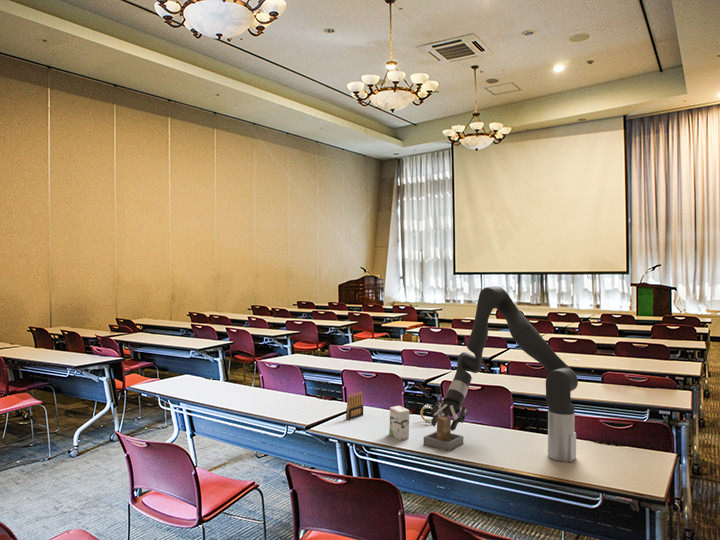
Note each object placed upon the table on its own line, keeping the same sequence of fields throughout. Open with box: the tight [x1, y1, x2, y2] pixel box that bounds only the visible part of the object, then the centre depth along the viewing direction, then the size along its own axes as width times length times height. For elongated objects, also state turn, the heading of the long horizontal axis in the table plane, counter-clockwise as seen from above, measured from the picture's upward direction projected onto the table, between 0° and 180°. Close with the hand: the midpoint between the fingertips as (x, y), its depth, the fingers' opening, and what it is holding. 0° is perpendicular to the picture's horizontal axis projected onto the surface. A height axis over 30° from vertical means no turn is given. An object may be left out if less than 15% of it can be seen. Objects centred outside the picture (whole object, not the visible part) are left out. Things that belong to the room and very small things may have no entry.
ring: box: [419, 403, 433, 423], centre depth 232 cm, size 7×3×8 cm, turn 61°
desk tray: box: [423, 430, 464, 452], centre depth 202 cm, size 12×12×3 cm
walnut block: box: [436, 415, 452, 442], centre depth 202 cm, size 4×4×10 cm
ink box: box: [388, 405, 410, 441], centre depth 211 cm, size 9×5×12 cm, turn 28°
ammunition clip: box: [345, 390, 364, 421], centre depth 238 cm, size 11×2×12 cm, turn 140°
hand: (442, 427), depth 201 cm, fingers open, 8 cm apart
